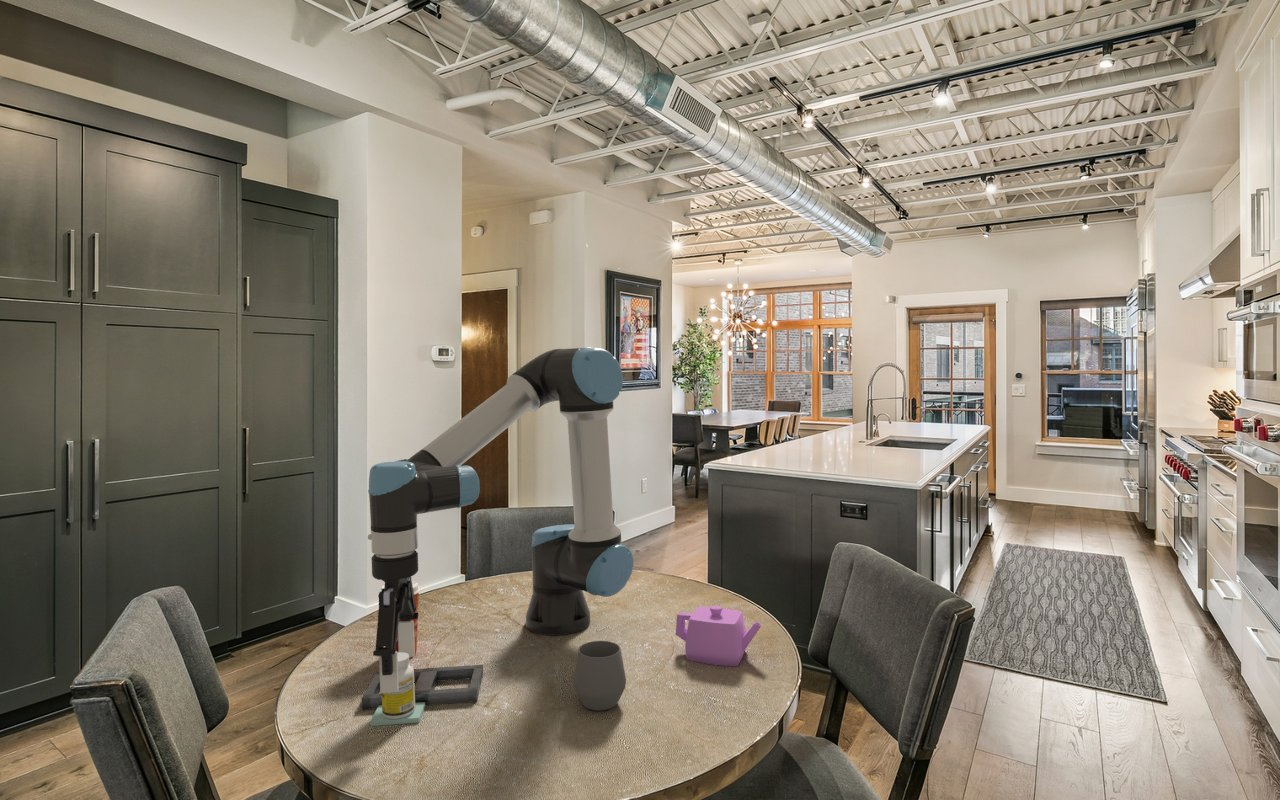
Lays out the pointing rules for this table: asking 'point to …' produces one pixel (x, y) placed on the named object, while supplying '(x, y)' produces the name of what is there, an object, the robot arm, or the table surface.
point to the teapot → (715, 635)
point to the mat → (412, 718)
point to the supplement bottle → (401, 691)
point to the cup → (599, 675)
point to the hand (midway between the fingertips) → (398, 673)
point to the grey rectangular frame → (433, 686)
